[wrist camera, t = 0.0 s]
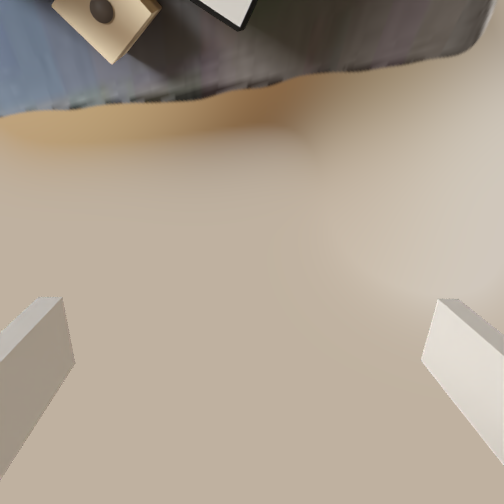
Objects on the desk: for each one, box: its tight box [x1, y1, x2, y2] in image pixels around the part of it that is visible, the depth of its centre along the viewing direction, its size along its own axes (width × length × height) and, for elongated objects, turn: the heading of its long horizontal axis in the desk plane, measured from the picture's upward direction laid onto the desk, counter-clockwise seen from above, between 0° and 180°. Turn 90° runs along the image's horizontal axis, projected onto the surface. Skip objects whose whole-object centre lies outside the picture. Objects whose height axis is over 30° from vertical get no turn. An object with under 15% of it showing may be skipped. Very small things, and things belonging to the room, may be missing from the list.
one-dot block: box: [51, 0, 162, 64], centre depth 26 cm, size 5×5×5 cm
